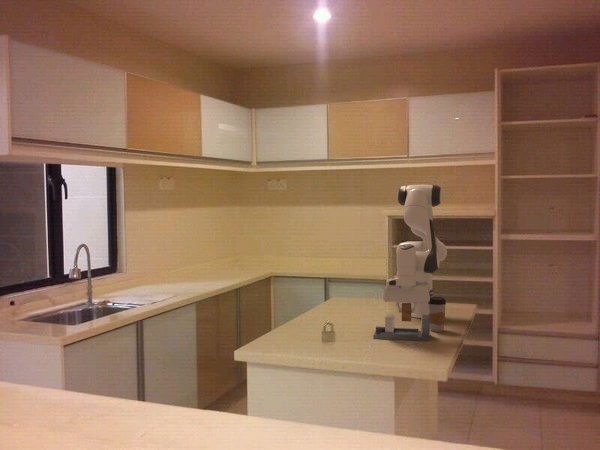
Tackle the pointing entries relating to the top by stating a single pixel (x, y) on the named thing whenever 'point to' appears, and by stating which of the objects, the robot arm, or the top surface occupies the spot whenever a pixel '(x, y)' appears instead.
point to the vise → (408, 332)
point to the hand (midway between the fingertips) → (406, 312)
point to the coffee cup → (437, 313)
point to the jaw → (387, 324)
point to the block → (406, 312)
